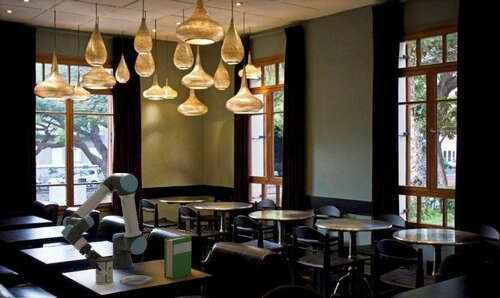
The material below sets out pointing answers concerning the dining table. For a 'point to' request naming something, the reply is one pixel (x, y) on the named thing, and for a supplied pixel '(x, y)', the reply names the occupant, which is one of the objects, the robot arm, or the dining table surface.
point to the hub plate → (136, 280)
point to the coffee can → (108, 267)
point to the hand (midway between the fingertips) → (108, 272)
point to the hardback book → (177, 256)
